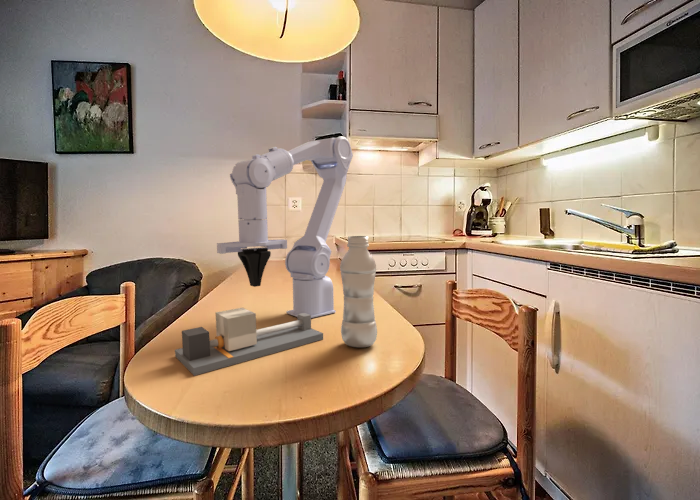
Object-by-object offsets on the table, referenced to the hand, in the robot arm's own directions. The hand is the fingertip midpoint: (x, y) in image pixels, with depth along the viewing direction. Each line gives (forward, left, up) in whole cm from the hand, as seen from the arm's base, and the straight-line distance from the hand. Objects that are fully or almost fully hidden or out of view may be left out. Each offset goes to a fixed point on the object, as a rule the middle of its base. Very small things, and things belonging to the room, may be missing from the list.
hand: (255, 285), depth 75 cm
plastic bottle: (-10, +21, -10) cm, 25 cm away
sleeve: (+8, +9, -8) cm, 14 cm away
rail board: (+5, +9, -9) cm, 14 cm away
